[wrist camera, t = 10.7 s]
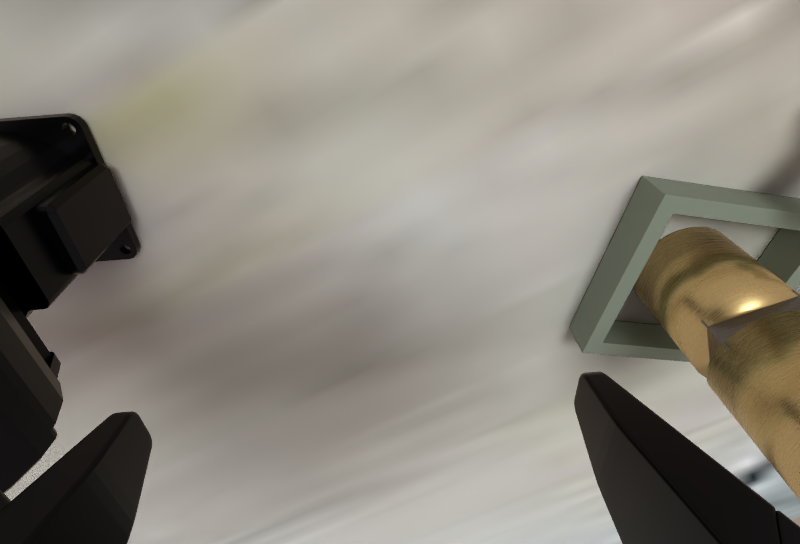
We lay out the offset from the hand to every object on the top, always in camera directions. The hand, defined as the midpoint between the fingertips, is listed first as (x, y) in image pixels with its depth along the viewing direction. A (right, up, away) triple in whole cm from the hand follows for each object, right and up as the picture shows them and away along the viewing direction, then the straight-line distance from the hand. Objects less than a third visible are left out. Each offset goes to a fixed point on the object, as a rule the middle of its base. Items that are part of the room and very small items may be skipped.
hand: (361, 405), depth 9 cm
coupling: (+16, +3, +15) cm, 22 cm away
